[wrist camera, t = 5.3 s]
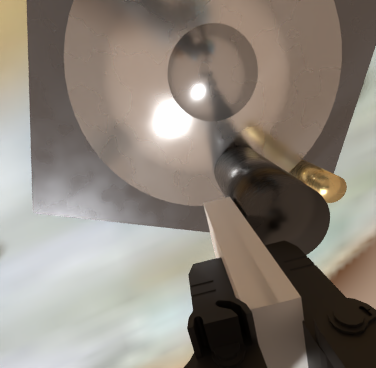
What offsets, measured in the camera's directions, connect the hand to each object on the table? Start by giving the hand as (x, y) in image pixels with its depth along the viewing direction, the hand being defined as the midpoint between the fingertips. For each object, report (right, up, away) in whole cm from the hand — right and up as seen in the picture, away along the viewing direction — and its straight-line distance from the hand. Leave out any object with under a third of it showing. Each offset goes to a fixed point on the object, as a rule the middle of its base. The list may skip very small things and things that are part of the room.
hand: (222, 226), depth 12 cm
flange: (0, +7, +5) cm, 9 cm away
